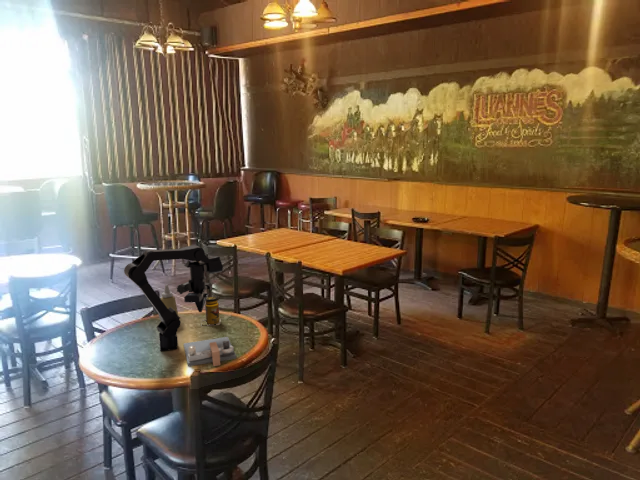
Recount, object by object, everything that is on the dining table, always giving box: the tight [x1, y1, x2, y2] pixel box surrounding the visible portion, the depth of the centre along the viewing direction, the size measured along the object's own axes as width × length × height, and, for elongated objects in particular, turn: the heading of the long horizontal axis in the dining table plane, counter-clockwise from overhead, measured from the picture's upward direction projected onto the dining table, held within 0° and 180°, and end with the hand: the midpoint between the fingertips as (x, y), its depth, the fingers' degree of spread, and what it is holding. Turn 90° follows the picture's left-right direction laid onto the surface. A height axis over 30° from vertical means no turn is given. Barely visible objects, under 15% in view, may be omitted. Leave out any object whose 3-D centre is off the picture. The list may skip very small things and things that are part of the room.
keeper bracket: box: [209, 342, 221, 367], centre depth 190 cm, size 2×10×6 cm, turn 19°
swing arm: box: [188, 340, 235, 362], centre depth 190 cm, size 17×5×5 cm, turn 115°
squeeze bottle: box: [160, 284, 179, 316], centre depth 230 cm, size 8×8×18 cm
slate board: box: [183, 336, 237, 367], centre depth 198 cm, size 18×20×1 cm
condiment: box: [200, 296, 222, 327], centre depth 229 cm, size 7×8×12 cm
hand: (200, 311), depth 209 cm, fingers closed
